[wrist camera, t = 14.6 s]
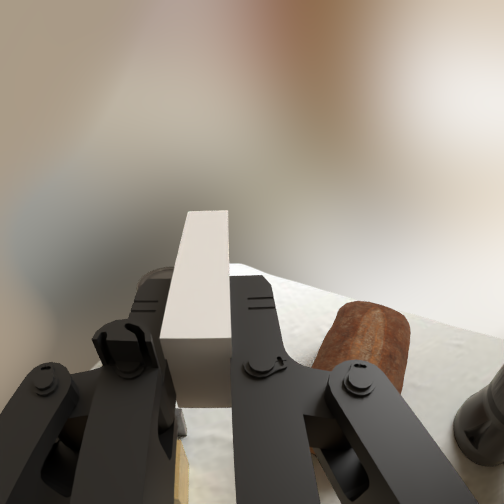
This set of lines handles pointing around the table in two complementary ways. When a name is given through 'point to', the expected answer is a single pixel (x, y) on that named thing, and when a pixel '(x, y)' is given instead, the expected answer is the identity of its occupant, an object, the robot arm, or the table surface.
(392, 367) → the bread
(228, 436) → the table surface
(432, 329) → the table surface
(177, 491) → the valve pipe
